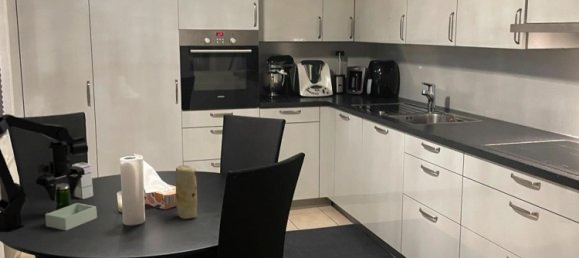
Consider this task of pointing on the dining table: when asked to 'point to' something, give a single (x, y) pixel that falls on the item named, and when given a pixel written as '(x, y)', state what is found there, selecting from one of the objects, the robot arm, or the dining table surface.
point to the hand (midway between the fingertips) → (62, 197)
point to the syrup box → (84, 182)
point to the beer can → (62, 196)
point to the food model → (186, 192)
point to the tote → (71, 216)
